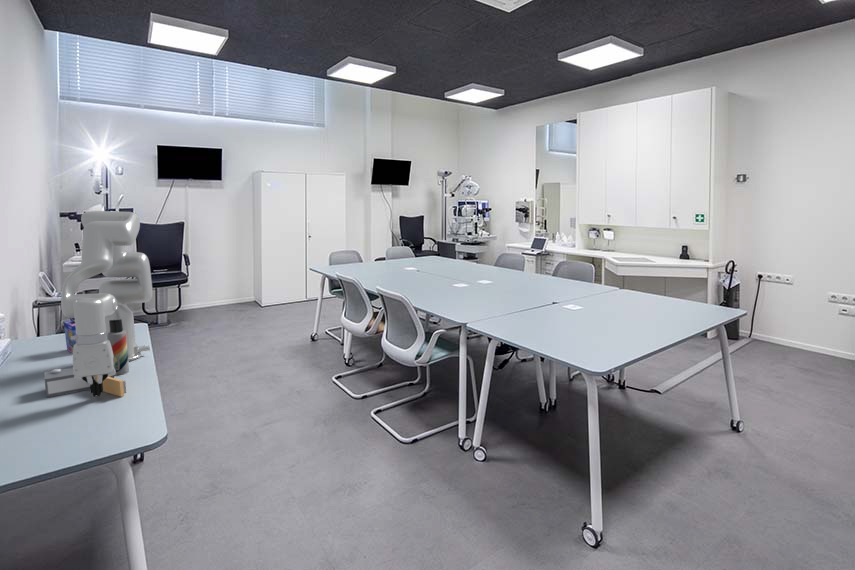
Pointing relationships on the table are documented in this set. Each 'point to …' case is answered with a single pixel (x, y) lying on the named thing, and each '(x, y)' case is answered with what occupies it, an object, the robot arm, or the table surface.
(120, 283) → the robot arm
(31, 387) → the table surface
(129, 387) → the table surface
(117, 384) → the tall beige panel
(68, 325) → the ink cartridge box
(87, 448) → the table surface
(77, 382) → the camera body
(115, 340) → the lotion bottle
